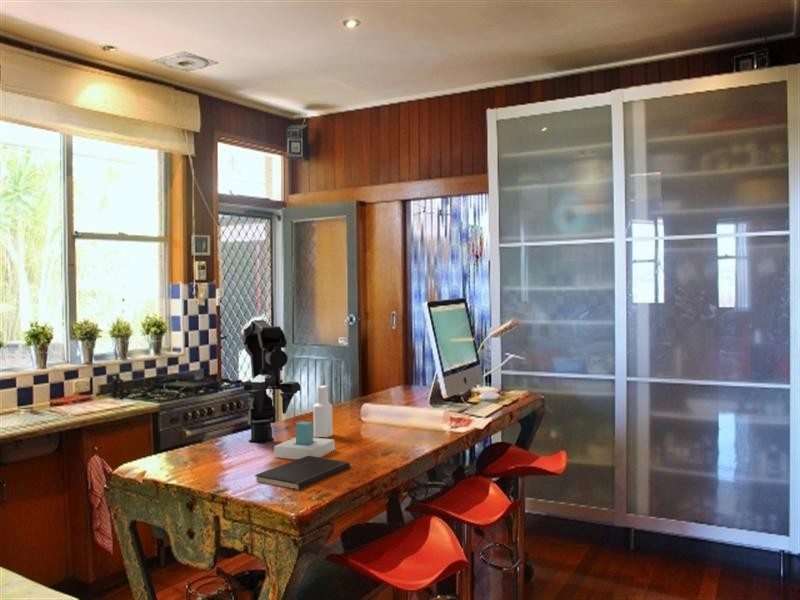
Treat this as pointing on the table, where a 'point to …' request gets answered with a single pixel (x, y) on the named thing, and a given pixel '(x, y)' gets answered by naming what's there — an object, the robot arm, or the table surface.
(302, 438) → the peg
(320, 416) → the white bottle
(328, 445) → the socket block
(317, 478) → the hardcover book
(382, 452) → the table surface
